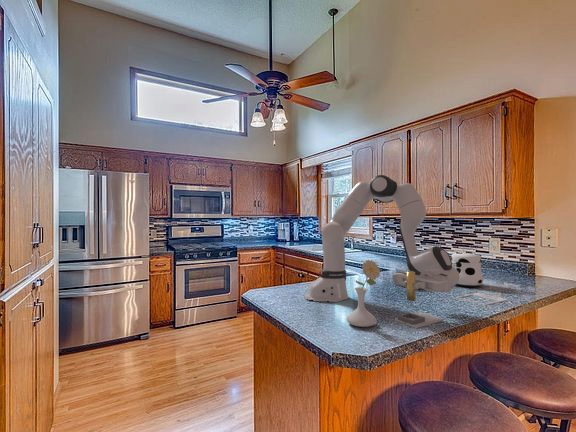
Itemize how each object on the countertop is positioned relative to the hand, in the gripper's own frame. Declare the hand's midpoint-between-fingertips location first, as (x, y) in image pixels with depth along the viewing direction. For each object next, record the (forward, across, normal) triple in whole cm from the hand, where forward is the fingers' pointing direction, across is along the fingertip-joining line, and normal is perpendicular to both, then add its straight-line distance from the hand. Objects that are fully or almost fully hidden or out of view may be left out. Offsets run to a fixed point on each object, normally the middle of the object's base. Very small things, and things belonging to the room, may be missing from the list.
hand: (409, 284), depth 120 cm
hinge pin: (-1, 0, +6) cm, 6 cm away
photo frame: (-59, -2, +16) cm, 61 cm away
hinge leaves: (-5, 0, +15) cm, 16 cm away
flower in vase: (+16, -9, +15) cm, 24 cm away
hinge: (-51, -40, +15) cm, 66 cm away
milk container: (-83, -23, +15) cm, 88 cm away
